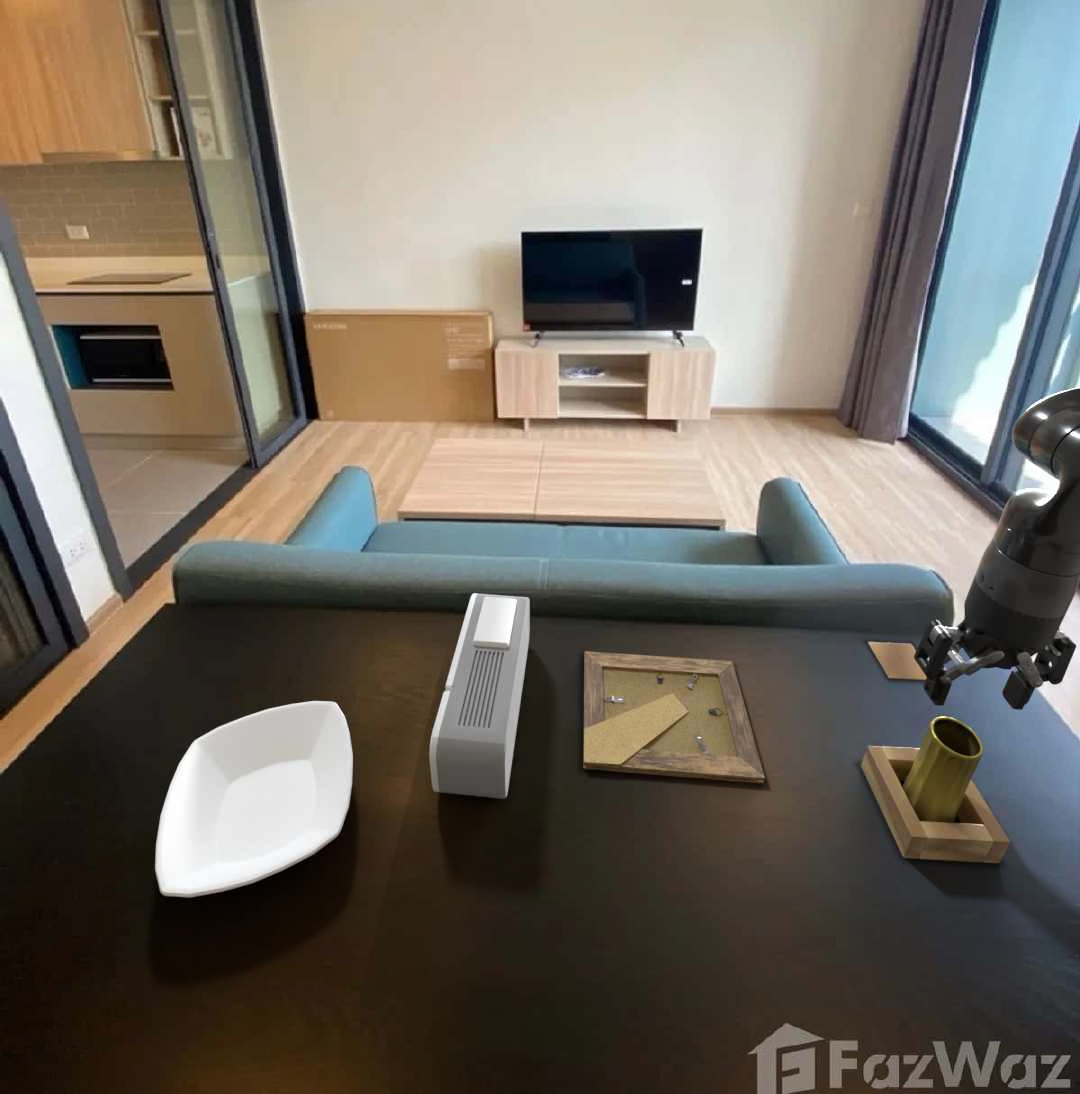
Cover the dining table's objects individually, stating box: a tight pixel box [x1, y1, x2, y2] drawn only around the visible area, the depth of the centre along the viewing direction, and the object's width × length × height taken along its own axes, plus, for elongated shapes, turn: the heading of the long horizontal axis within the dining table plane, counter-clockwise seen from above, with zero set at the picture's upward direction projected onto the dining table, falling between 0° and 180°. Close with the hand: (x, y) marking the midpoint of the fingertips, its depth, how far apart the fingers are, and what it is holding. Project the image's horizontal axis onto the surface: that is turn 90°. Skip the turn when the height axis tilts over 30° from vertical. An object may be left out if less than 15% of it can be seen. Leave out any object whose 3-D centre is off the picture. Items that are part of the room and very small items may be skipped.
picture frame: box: [582, 650, 766, 784], centre depth 85 cm, size 19×2×24 cm
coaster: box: [867, 641, 927, 681], centre depth 94 cm, size 7×7×1 cm
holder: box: [860, 745, 1011, 864], centre depth 72 cm, size 11×11×4 cm
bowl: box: [154, 700, 354, 898], centre depth 72 cm, size 22×22×5 cm
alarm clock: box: [428, 593, 531, 800], centre depth 83 cm, size 27×9×12 cm, turn 175°
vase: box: [901, 716, 984, 823], centre depth 71 cm, size 6×6×14 cm
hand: (972, 700), depth 65 cm, fingers open, 8 cm apart
